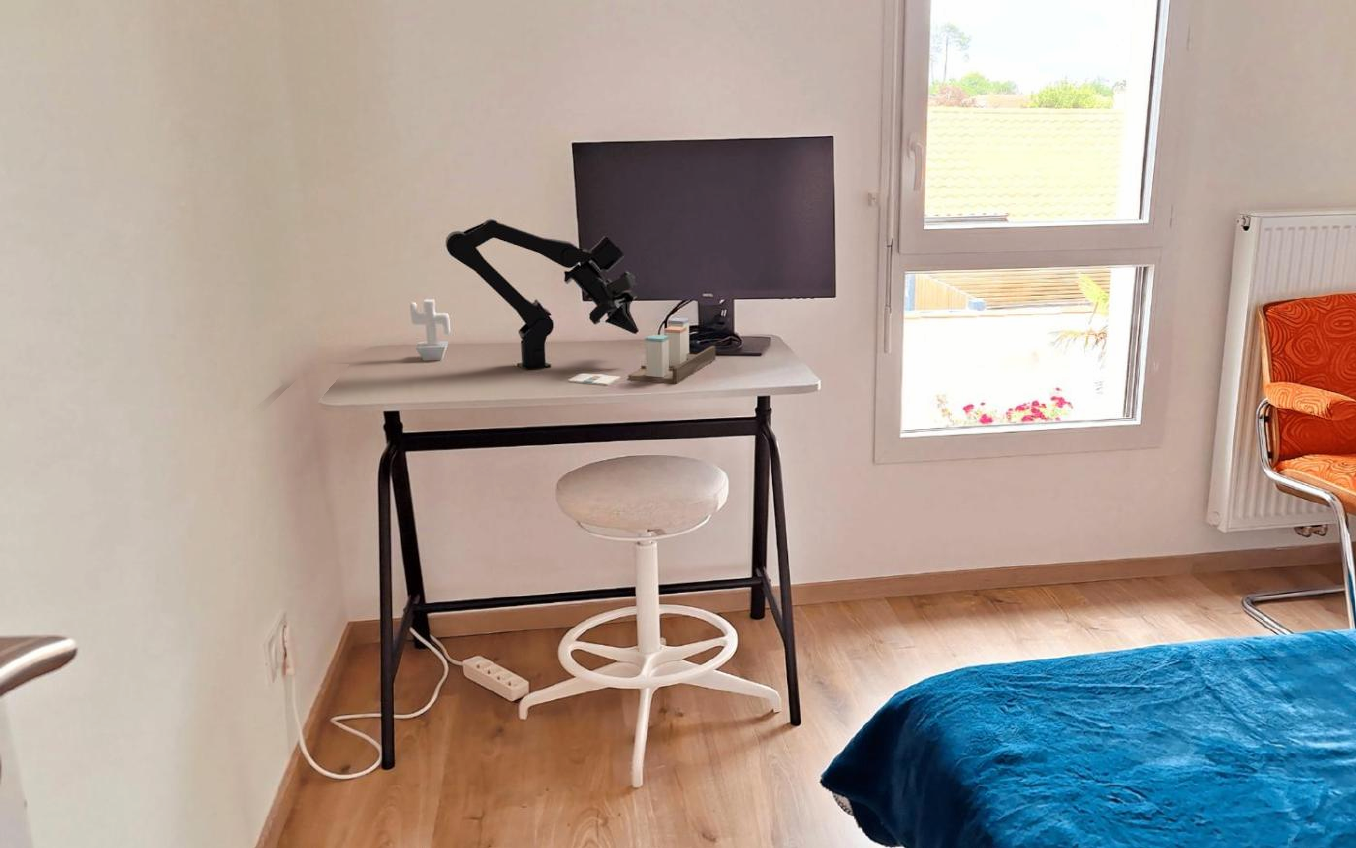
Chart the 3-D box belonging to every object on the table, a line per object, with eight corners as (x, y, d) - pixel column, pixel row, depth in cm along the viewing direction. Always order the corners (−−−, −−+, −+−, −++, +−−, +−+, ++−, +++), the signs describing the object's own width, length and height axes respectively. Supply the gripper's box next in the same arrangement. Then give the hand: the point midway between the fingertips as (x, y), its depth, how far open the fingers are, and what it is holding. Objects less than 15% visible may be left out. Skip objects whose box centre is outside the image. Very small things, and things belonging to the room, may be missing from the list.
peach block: (664, 365, 233) (664, 329, 231) (670, 362, 237) (670, 326, 234) (680, 366, 232) (680, 330, 229) (686, 363, 235) (686, 327, 233)
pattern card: (567, 381, 223) (567, 379, 223) (582, 374, 230) (582, 372, 230) (607, 385, 220) (607, 382, 220) (620, 378, 226) (620, 375, 226)
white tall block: (646, 375, 224) (645, 337, 221) (653, 372, 227) (652, 334, 225) (662, 377, 222) (662, 339, 220) (669, 373, 226) (668, 335, 223)
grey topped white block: (668, 355, 244) (668, 320, 242) (674, 352, 248) (674, 317, 245) (683, 356, 243) (683, 321, 240) (689, 353, 246) (688, 318, 244)
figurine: (450, 361, 245) (446, 301, 241) (412, 362, 244) (407, 302, 240) (454, 355, 252) (449, 296, 248) (416, 356, 251) (411, 297, 247)
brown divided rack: (628, 379, 225) (628, 364, 224) (670, 356, 249) (670, 342, 248) (676, 383, 221) (676, 368, 220) (715, 359, 244) (715, 346, 243)
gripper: (600, 266, 224) (646, 316, 224) (628, 257, 241) (671, 304, 241) (570, 298, 228) (615, 348, 228) (599, 287, 246) (641, 333, 246)
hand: (637, 332), depth 236 cm, fingers closed
